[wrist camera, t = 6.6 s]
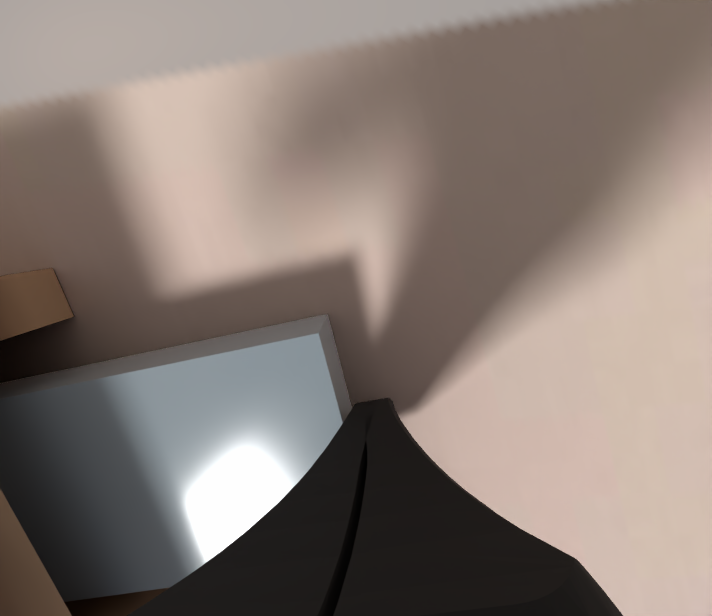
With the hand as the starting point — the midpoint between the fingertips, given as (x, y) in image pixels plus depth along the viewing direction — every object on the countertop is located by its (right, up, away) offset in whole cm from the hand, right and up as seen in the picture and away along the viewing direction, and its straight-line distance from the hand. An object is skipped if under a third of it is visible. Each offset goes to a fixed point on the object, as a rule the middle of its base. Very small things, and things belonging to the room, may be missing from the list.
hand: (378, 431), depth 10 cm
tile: (-7, -1, +2) cm, 7 cm away
